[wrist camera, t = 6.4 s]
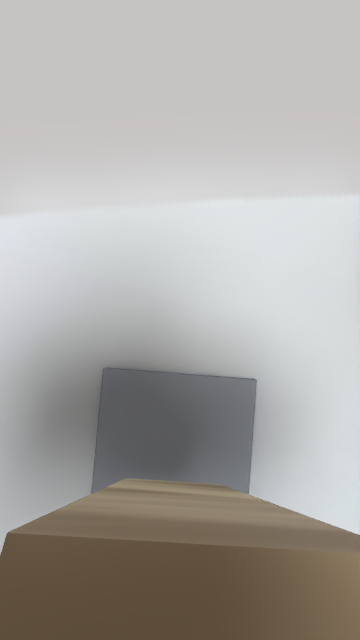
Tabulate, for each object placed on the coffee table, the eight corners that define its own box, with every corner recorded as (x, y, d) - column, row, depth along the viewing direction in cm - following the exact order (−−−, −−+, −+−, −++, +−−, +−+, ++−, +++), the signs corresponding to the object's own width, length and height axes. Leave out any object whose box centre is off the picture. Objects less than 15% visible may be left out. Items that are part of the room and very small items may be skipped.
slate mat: (238, 604, 18) (240, 610, 18) (82, 598, 18) (80, 604, 17) (254, 379, 19) (256, 380, 19) (104, 367, 18) (103, 368, 18)
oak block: (221, 588, 12) (749, 1667, 1) (111, 582, 12) (-365, 1755, 1) (220, 484, 14) (417, 557, 3) (125, 478, 13) (7, 533, 3)
